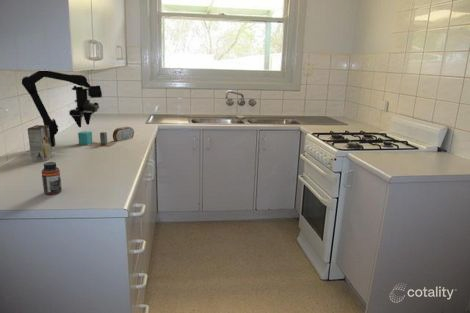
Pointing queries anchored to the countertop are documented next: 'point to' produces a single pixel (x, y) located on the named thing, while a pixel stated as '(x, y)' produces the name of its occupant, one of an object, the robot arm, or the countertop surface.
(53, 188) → the supplement bottle
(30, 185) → the countertop surface
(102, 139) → the post
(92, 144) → the walnut board
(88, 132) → the teal block
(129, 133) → the tin
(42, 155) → the coffee box
